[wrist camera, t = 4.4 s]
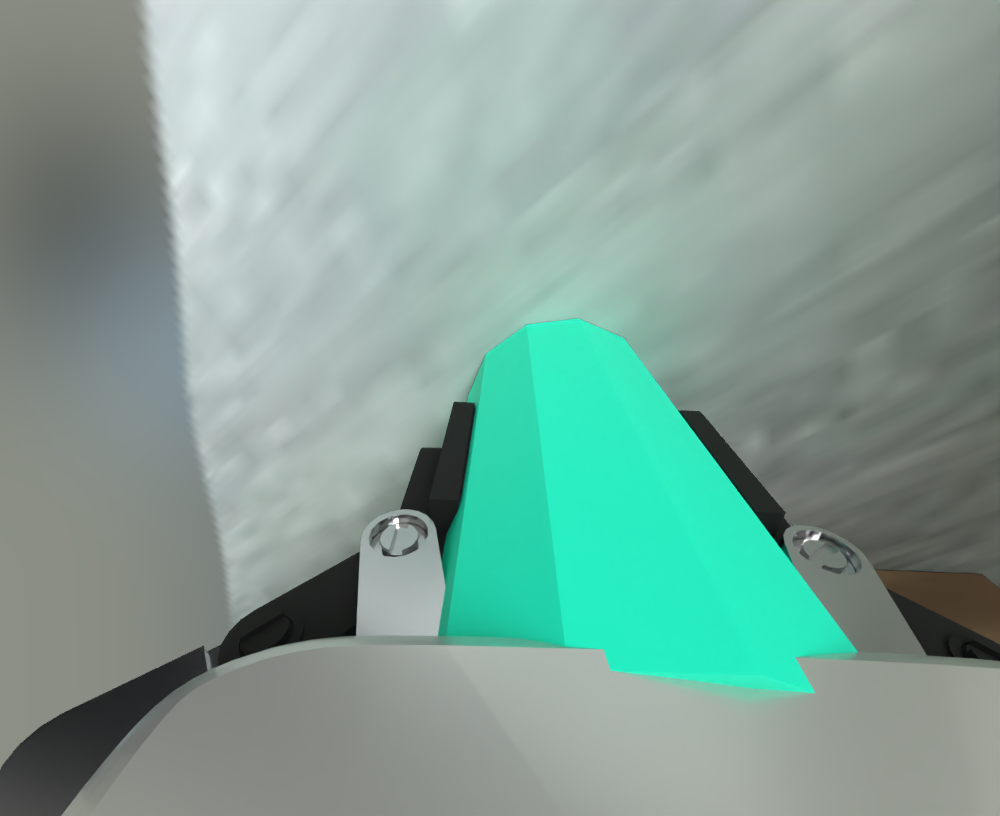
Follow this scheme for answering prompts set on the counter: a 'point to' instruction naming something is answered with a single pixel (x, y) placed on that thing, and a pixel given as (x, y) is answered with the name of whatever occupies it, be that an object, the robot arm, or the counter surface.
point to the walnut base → (951, 597)
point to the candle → (616, 526)
